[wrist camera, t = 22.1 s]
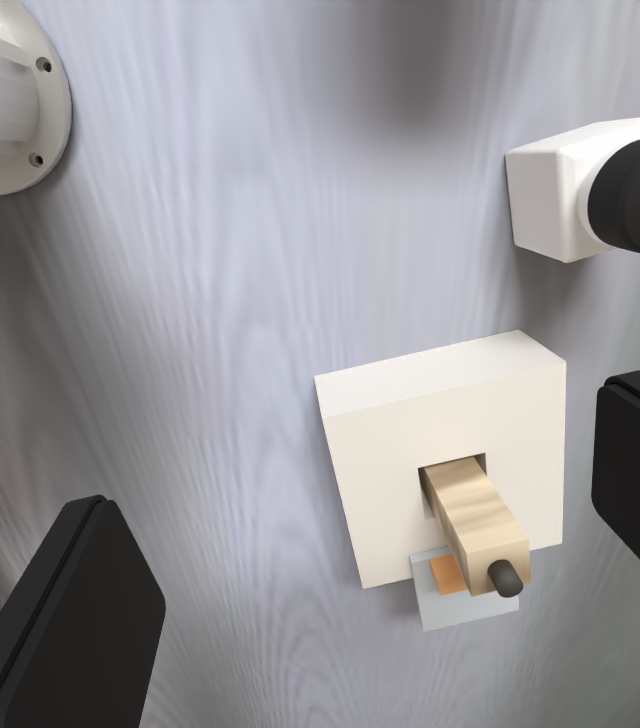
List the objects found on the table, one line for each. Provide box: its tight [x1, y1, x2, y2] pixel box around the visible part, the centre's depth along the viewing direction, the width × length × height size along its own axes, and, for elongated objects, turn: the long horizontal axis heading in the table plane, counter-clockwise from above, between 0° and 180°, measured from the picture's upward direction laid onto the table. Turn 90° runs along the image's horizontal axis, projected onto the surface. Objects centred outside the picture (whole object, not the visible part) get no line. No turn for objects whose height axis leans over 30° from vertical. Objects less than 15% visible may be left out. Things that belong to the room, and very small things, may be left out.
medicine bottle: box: [505, 118, 640, 263], centre depth 29 cm, size 7×7×12 cm
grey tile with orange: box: [409, 546, 519, 632], centre depth 39 cm, size 9×9×3 cm
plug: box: [418, 455, 531, 598], centre depth 34 cm, size 4×4×14 cm
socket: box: [314, 329, 566, 589], centre depth 40 cm, size 18×18×7 cm
